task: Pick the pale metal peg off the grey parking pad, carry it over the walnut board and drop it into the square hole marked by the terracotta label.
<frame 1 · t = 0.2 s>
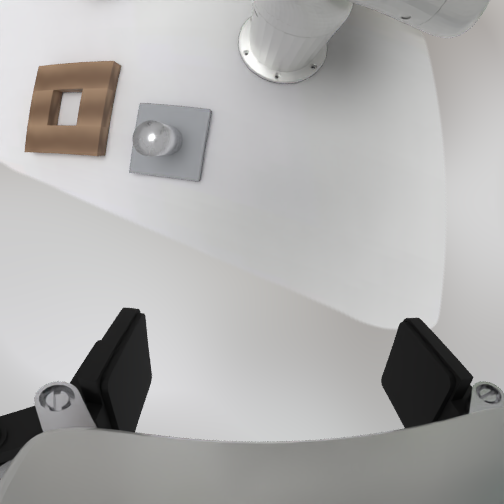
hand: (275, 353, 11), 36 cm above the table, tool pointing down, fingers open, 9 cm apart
peg: (167, 140, 40), point 2 cm above the table, touching parking pad
hole board: (73, 108, 39), on the table
parking pad: (171, 141, 42), on the table
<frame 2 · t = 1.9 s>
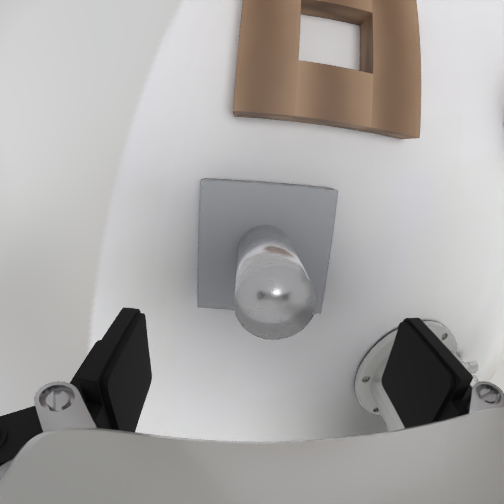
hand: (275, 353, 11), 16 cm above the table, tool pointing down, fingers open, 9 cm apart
peg: (265, 251, 24), point 2 cm above the table, touching parking pad
hole board: (328, 46, 21), on the table
parking pad: (263, 244, 26), on the table
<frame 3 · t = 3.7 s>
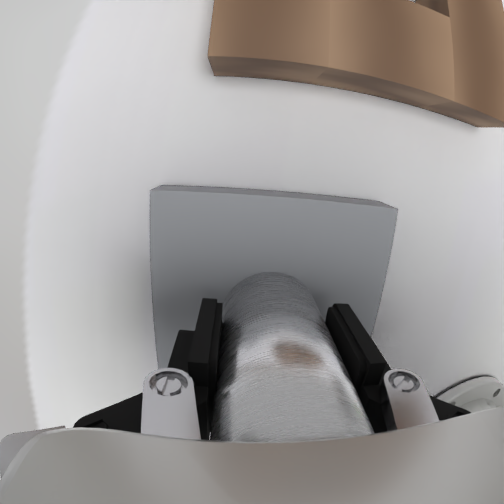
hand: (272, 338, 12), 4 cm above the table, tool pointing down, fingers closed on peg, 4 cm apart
peg: (269, 315, 13), point 2 cm above the table, touching gripper, parking pad
parking pad: (265, 295, 15), on the table
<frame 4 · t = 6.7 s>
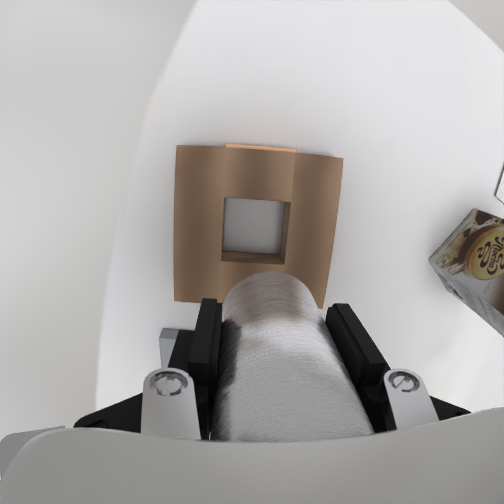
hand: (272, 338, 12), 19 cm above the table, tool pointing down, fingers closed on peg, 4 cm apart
coffee box: (461, 250, 32), on the table
peg: (269, 315, 13), point 18 cm above the table, touching gripper
hole board: (253, 224, 30), on the table
parking pad: (208, 367, 35), on the table
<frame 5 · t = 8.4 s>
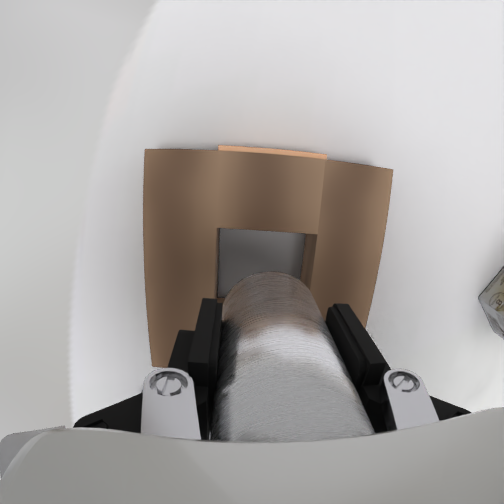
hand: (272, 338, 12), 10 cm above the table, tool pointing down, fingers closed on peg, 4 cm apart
peg: (269, 315, 13), point 8 cm above the table, touching gripper
hole board: (260, 261, 21), on the table
when the fingers open (4 cm above the table, at t = 9.8 s): peg drops 2 cm, resting in hole board.
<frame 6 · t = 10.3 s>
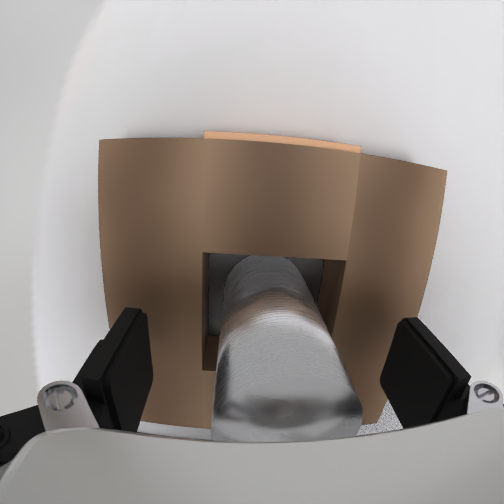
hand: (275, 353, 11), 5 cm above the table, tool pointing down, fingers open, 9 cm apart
peg: (264, 291, 16), resting in hole board
hole board: (264, 291, 16), on the table
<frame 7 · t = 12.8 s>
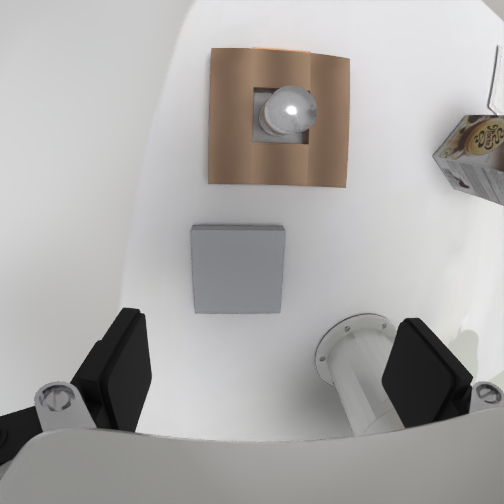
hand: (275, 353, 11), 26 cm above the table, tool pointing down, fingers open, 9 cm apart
coffee box: (460, 151, 34), on the table
peg: (277, 118, 32), resting in hole board
hole board: (277, 117, 32), on the table
parking pad: (237, 267, 37), on the table
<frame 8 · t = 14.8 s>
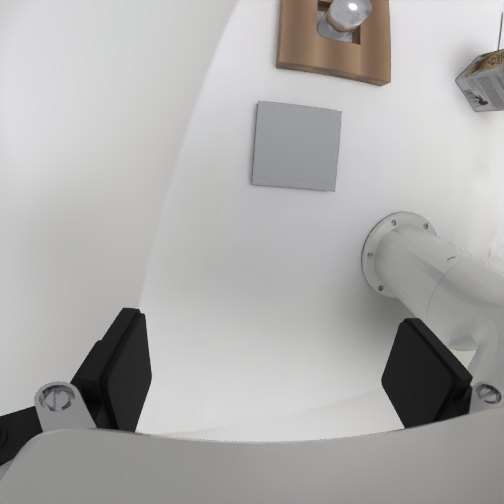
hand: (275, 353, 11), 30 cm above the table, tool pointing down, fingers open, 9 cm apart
coffee box: (476, 82, 34), on the table
peg: (332, 29, 33), resting in hole board
hole board: (332, 29, 33), on the table
parking pad: (295, 146, 37), on the table
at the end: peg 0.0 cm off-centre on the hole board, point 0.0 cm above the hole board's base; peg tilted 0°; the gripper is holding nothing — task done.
